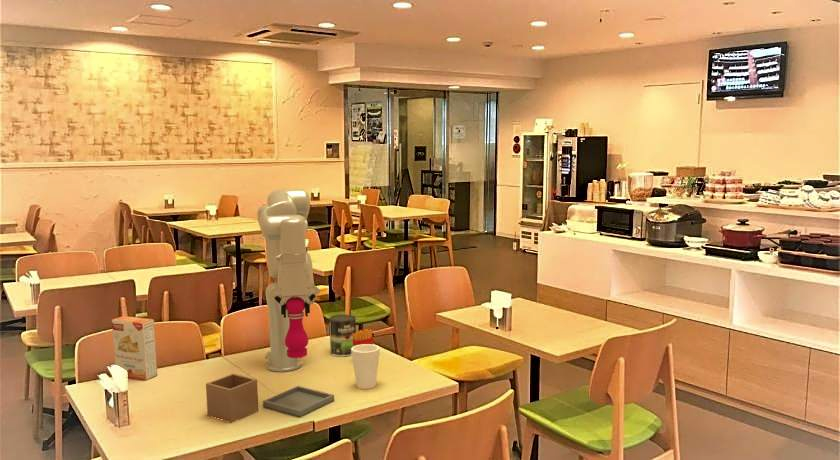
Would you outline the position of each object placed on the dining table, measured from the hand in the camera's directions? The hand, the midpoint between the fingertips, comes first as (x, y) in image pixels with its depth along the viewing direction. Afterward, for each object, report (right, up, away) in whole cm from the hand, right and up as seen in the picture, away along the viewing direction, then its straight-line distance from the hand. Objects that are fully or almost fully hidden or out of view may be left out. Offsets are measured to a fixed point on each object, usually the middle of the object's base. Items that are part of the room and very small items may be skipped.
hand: (295, 315), depth 210 cm
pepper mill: (0, -13, +2) cm, 13 cm away
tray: (0, -28, +4) cm, 28 cm away
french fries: (+17, -23, +45) cm, 53 cm away
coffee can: (+8, -22, +55) cm, 60 cm away
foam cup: (+20, -26, +19) cm, 38 cm away
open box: (-18, -29, -3) cm, 35 cm away
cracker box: (-62, -26, +32) cm, 74 cm away
